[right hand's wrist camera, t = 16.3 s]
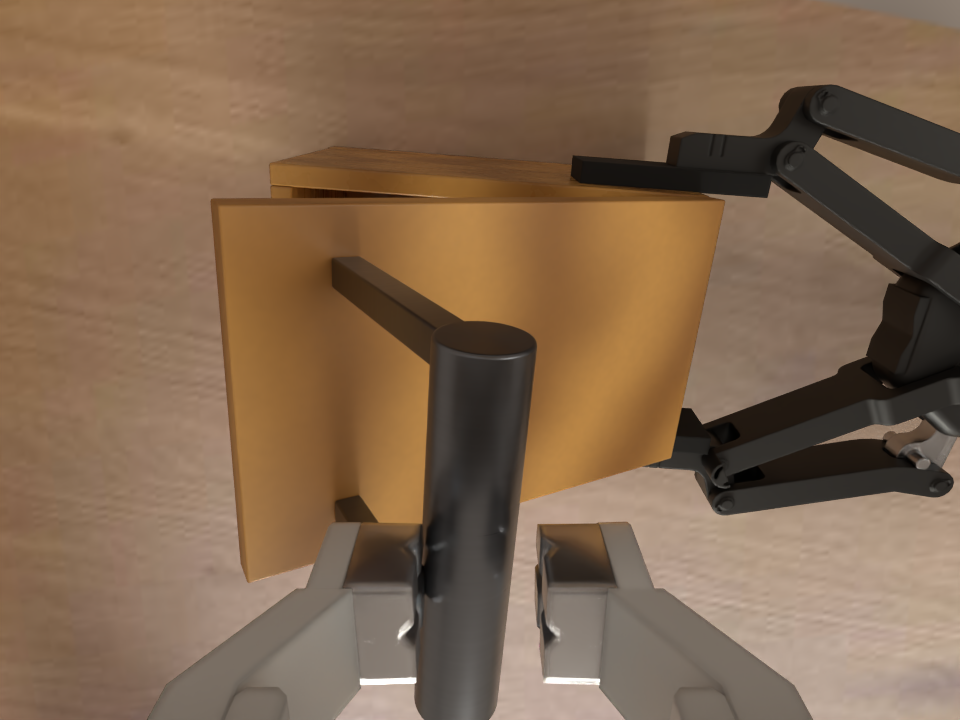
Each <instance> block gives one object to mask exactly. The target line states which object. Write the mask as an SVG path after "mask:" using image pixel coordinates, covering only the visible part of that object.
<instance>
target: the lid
mask: <svg viewBox="0 0 960 720" xmlns="http://www.w3.org/2000/svg"><path fill="white" fill-rule="evenodd" d="M724 205H725V201H724V200H721V199H716V198H711V197H705V196H689V197H464V198H238V199H211V212H212V224H213V236H214V248H215V260H216V272H217V284H218V296H219V308H220V320H221V332H222V344H223V356H224V368H225V380H226V392H227V404H228V416H229V428H230V440H231V452H232V464H233V476H234V488H235V500H236V512H237V524H238V536H239V548H240V560H241V565H242V568H243V571H244V574H245V577H246V579H247V582H248V583H251V582H254V581H258V580H261V579H265V578H268V577H271V576H275V575H278V574H281V573H285V572H288V571H292V570H295V569H298V568H302V567H305V566H308V565H312V564H315V561H316V559H317V556H318V553H319V550H320V548H321V545H322V542H323V540H324V537H325V534H326V531H327V529H328V527H329V526H330V525H331V524H332V523H333V522H361V523H363V522H372V523H419V524H422V526H423V538H424V549H423V557H422V564H423V566H424V568H425V606H424V619H423V626H422V627H421V628H420V655H419V664H418V672H417V681H416V683H415V693H414V699H415V704H416V707H417V710H418V712H419V713H420V715H421V716H422V718H423V719H424V720H489V719H490V718H491V716H492V715H493V713H494V711H495V709H496V706H497V700H498V691H499V682H500V673H501V664H502V655H503V647H504V638H505V629H506V620H507V611H508V602H509V593H510V585H511V576H512V567H513V558H514V549H515V540H516V531H517V523H518V514H519V505H520V503H521V502H524V501H528V500H531V499H535V498H538V497H541V496H545V495H548V494H551V493H555V492H558V491H562V490H565V489H568V488H572V487H575V486H578V485H582V484H585V483H589V482H592V481H595V480H599V479H602V478H605V477H609V476H612V475H616V474H619V473H622V472H626V471H629V470H632V469H636V468H639V467H643V466H646V465H649V464H653V463H656V462H659V461H663V460H666V459H670V458H671V456H672V451H673V446H674V442H675V437H676V432H677V427H678V423H679V418H680V413H681V408H682V404H683V399H684V394H685V389H686V385H687V380H688V375H689V370H690V366H691V361H692V356H693V352H694V347H695V342H696V337H697V333H698V328H699V323H700V318H701V314H702V309H703V304H704V299H705V295H706V290H707V285H708V280H709V276H710V271H711V266H712V261H713V257H714V252H715V247H716V242H717V238H718V233H719V228H720V224H721V219H722V214H723V209H724Z"/></svg>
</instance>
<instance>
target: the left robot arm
mask: <svg viewBox="0 0 960 720" xmlns="http://www.w3.org/2000/svg"><path fill="white" fill-rule="evenodd" d="M821 135H824V136H827V137H829V138H832V139H834V140H837V141H840V142H842V143H845V144H848V145H850V146H853V147H855V148H858V149H861V150H863V151H866V152H869V153H871V154H874V155H877V156H879V157H882V158H884V159H887V160H890V161H892V162H895V163H898V164H900V165H903V166H905V167H908V168H911V169H913V170H916V171H919V172H921V173H924V174H926V175H929V176H932V177H934V178H937V179H940V180H943V181H947V182H951V183H957V184H960V133H958V132H955V131H953V130H950V129H948V128H945V127H942V126H940V125H937V124H935V123H932V122H930V121H927V120H925V119H922V118H919V117H917V116H914V115H912V114H909V113H907V112H904V111H901V110H899V109H896V108H894V107H891V106H889V105H886V104H884V103H881V102H878V101H876V100H873V99H871V98H868V97H866V96H863V95H861V94H858V93H855V92H853V91H850V90H848V89H845V88H843V87H840V86H837V85H817V86H804V87H795V88H792V89H790V90H788V91H787V92H786V93H784V95H783V96H782V98H781V99H780V103H779V113H778V114H777V116H776V118H775V120H774V121H773V123H772V124H771V126H770V127H769V128H768V129H767V130H766V131H765V132H763V133H761V134H760V135H756V136H736V135H723V134H710V133H697V132H683V133H679V134H676V135H673V136H671V137H670V143H669V149H668V155H667V161H666V163H664V162H651V161H638V160H625V159H612V158H598V157H585V156H573V159H572V167H571V175H570V176H572V177H573V178H574V179H575V180H576V181H578V182H579V183H582V184H595V185H608V186H621V187H634V188H647V189H661V190H674V191H687V192H699V193H709V194H722V195H735V196H748V197H762V198H767V197H768V193H769V189H770V185H771V181H772V182H773V183H775V184H776V185H777V186H779V187H780V188H781V189H783V190H784V191H785V192H787V193H788V194H790V195H791V196H792V197H794V198H795V199H796V200H798V201H799V202H801V203H802V204H803V205H805V206H806V207H807V208H809V209H810V210H812V211H813V212H814V213H816V214H817V215H818V216H820V217H821V218H823V219H824V220H825V221H827V222H828V223H829V224H831V225H832V226H834V227H835V228H836V229H838V230H839V231H840V232H842V233H843V234H844V235H846V236H847V237H849V238H850V239H851V240H853V241H854V242H855V243H857V244H858V245H860V246H861V247H862V248H864V249H865V250H866V251H868V252H869V253H871V254H872V255H873V258H874V259H876V260H877V261H878V262H880V263H881V264H882V265H884V266H885V267H886V268H888V269H889V270H891V271H892V272H893V273H895V274H896V275H897V276H899V277H900V279H899V280H898V281H897V283H896V284H890V283H889V285H888V288H887V291H886V294H885V297H884V301H883V317H882V322H881V324H880V325H879V327H878V329H877V330H876V332H875V333H874V335H873V337H872V338H871V341H870V345H869V348H868V351H867V354H866V356H868V357H865V358H862V359H860V360H857V361H854V362H852V363H849V364H846V365H844V366H842V367H840V368H839V370H838V373H837V374H836V375H834V376H832V377H829V378H827V379H824V380H821V381H819V382H816V383H813V384H811V385H808V386H805V387H803V388H800V389H797V390H794V391H792V392H789V393H786V394H784V395H781V396H778V397H776V398H773V399H770V400H768V401H765V402H762V403H759V404H757V405H754V406H751V407H749V408H746V409H743V410H741V411H738V412H735V413H733V414H730V415H727V416H724V417H722V418H719V419H716V420H714V421H711V422H708V423H706V424H703V425H702V424H701V422H700V421H699V419H698V418H697V416H696V415H695V413H694V412H693V410H692V409H690V408H681V413H680V418H679V423H678V427H677V432H676V437H675V442H674V446H673V451H672V456H671V458H670V459H666V460H663V461H659V462H656V463H653V464H649V465H646V466H643V467H652V468H657V467H659V468H667V469H681V470H692V471H695V478H696V480H697V482H698V484H699V486H700V487H701V489H702V491H703V493H704V494H705V496H706V498H707V500H708V502H709V503H710V505H711V507H712V509H713V510H714V511H715V512H716V513H717V514H720V515H732V514H739V513H746V512H753V511H760V510H767V509H774V508H781V507H788V506H795V505H802V504H809V503H816V502H823V501H830V500H837V499H844V498H851V497H858V496H865V495H872V494H879V493H886V492H894V491H895V492H901V493H908V494H914V495H920V496H927V497H940V496H943V495H945V494H947V493H948V492H949V491H950V490H951V489H952V487H953V484H954V481H953V478H952V477H951V475H950V474H948V473H947V472H946V471H945V470H943V469H942V466H943V464H944V462H945V460H946V458H947V456H948V454H949V452H950V450H951V448H952V446H953V445H954V443H955V441H956V439H957V437H960V243H958V244H956V245H954V246H952V247H950V248H948V247H946V246H944V245H942V244H940V243H938V242H936V241H935V240H933V239H932V238H931V237H929V236H928V235H927V234H925V233H924V232H923V231H921V230H920V229H919V228H917V227H916V226H915V225H913V224H912V223H911V222H909V221H908V220H907V219H905V218H904V217H903V216H901V215H900V214H899V213H897V212H896V211H895V210H893V209H892V208H891V207H890V206H888V205H887V204H886V203H884V202H883V201H882V200H880V199H879V198H878V197H876V196H875V195H874V194H872V193H871V192H870V191H868V190H867V189H866V188H864V187H863V186H862V185H860V184H859V183H858V182H856V181H855V180H854V179H852V178H851V177H850V176H848V175H847V174H846V173H844V172H843V171H842V170H840V169H839V168H838V167H836V166H835V165H834V164H832V163H831V162H830V161H828V160H827V159H826V158H825V157H823V156H822V155H821V154H819V153H818V152H817V151H815V150H814V149H813V148H814V147H815V145H816V144H817V142H818V140H819V139H820V137H821ZM883 383H884V384H885V385H886V386H887V387H888V388H887V387H885V386H884V385H882V384H883ZM916 417H919V418H920V419H922V422H921V424H920V425H919V426H918V427H917V428H916V429H914V430H913V431H910V432H906V433H898V434H896V433H895V432H893V431H890V432H887V433H886V434H885V435H884V436H883V440H879V439H857V440H849V441H842V442H835V443H829V444H822V445H816V444H819V443H822V442H825V441H827V440H830V439H833V438H836V437H839V436H841V435H844V434H847V433H850V432H853V431H856V430H858V429H861V428H864V427H867V426H870V425H873V424H880V425H886V426H889V425H896V424H899V423H902V422H905V421H908V420H911V419H913V418H916ZM813 445H815V446H813Z"/></svg>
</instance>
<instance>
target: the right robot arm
mask: <svg viewBox="0 0 960 720" xmlns="http://www.w3.org/2000/svg"><path fill="white" fill-rule="evenodd" d="M423 549H424V538H423V526H422V524H419V523H372V522H363V523H361V522H333V523H332V524H331V525H330V526H329V527H328V529H327V531H326V534H325V537H324V540H323V542H322V545H321V548H320V550H319V553H318V556H317V559H316V561H315V564H314V567H313V569H312V572H311V575H310V578H309V580H308V583H307V586H306V588H305V589H295V590H294V591H293V592H291V593H290V594H289V595H287V596H286V597H284V598H283V599H282V600H280V601H279V602H278V603H276V604H275V605H274V606H272V607H271V608H270V609H268V610H267V611H265V612H264V613H263V614H261V615H260V616H259V617H257V618H256V619H255V620H253V621H252V622H250V623H249V624H248V625H246V626H245V627H244V628H242V629H241V630H240V631H238V632H237V633H236V634H234V635H233V636H231V637H230V638H229V639H227V640H226V641H225V642H223V643H222V644H221V645H219V646H218V647H217V648H215V649H214V650H212V651H211V652H210V653H208V654H207V655H206V656H204V657H203V658H202V659H200V660H199V661H198V662H196V663H195V664H193V665H192V666H191V667H189V668H188V669H187V670H185V671H184V672H183V673H181V674H180V675H179V676H177V677H176V678H174V679H173V680H172V681H170V682H169V683H168V684H166V686H165V688H164V690H163V692H162V693H161V695H160V697H159V699H158V701H157V702H156V704H155V706H154V708H153V710H152V711H151V713H150V715H149V717H148V719H147V720H335V719H336V718H337V716H338V715H339V714H340V713H341V712H342V710H343V709H344V708H345V707H346V705H347V704H348V703H349V702H350V701H351V699H352V698H353V697H354V696H355V695H356V693H357V692H358V691H359V690H360V688H361V685H369V684H403V683H416V681H417V672H418V664H419V655H420V628H421V627H422V626H423V619H424V606H425V568H424V566H423V564H422V557H423ZM536 549H537V558H538V564H537V565H536V567H535V609H536V620H537V627H538V628H539V629H540V656H541V664H542V673H543V681H544V683H555V684H591V685H599V688H600V689H601V690H602V692H603V693H604V694H605V695H606V697H607V698H608V699H609V700H610V701H611V703H612V704H613V705H614V706H615V708H616V709H617V710H618V711H619V712H620V714H621V715H622V716H623V717H624V719H625V720H813V719H812V717H811V715H810V713H809V711H808V710H807V708H806V706H805V704H804V702H803V700H802V699H801V697H800V695H799V693H798V691H797V689H796V688H795V686H794V685H793V684H792V683H790V682H789V681H788V680H786V679H785V678H784V677H782V676H781V675H780V674H778V673H777V672H775V671H774V670H773V669H771V668H770V667H769V666H767V665H766V664H765V663H763V662H762V661H761V660H759V659H758V658H757V657H755V656H754V655H752V654H751V653H750V652H748V651H747V650H746V649H744V648H743V647H742V646H740V645H739V644H738V643H736V642H735V641H734V640H732V639H731V638H730V637H728V636H727V635H725V634H724V633H723V632H721V631H720V630H719V629H717V628H716V627H715V626H713V625H712V624H711V623H709V622H708V621H707V620H705V619H704V618H702V617H701V616H700V615H698V614H697V613H696V612H694V611H693V610H692V609H690V608H689V607H688V606H686V605H685V604H684V603H682V602H681V601H679V600H678V599H677V598H675V597H674V596H673V595H671V594H670V593H669V592H667V591H666V590H665V589H654V586H653V583H652V581H651V578H650V575H649V573H648V570H647V567H646V565H645V562H644V559H643V557H642V554H641V551H640V549H639V546H638V543H637V540H636V538H635V535H634V532H633V530H632V527H631V525H630V524H629V523H628V522H606V523H597V524H537V534H536Z"/></svg>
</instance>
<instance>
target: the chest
mask: <svg viewBox="0 0 960 720" xmlns="http://www.w3.org/2000/svg"><path fill="white" fill-rule="evenodd" d="M269 166H270V183H271V185H272V186H271V198H464V197H689V196H705V197H709V196H707V195H704V194H702V193H699V192H687V191H674V190H661V189H647V188H634V187H621V186H608V185H595V184H582V183H579V182H578V181H576V180H575V179H574V178H573V177H572V176H570V175H571V167H572V164H559V163H546V162H533V161H520V160H507V159H494V158H481V157H468V156H455V155H442V154H429V153H416V152H403V151H389V150H376V149H363V148H350V147H337V146H333V147H329V148H328V149H324V150H320V151H316V152H312V153H308V154H304V155H300V156H296V157H292V158H288V159H284V160H280V161H276V162H272V163H270V165H269Z"/></svg>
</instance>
